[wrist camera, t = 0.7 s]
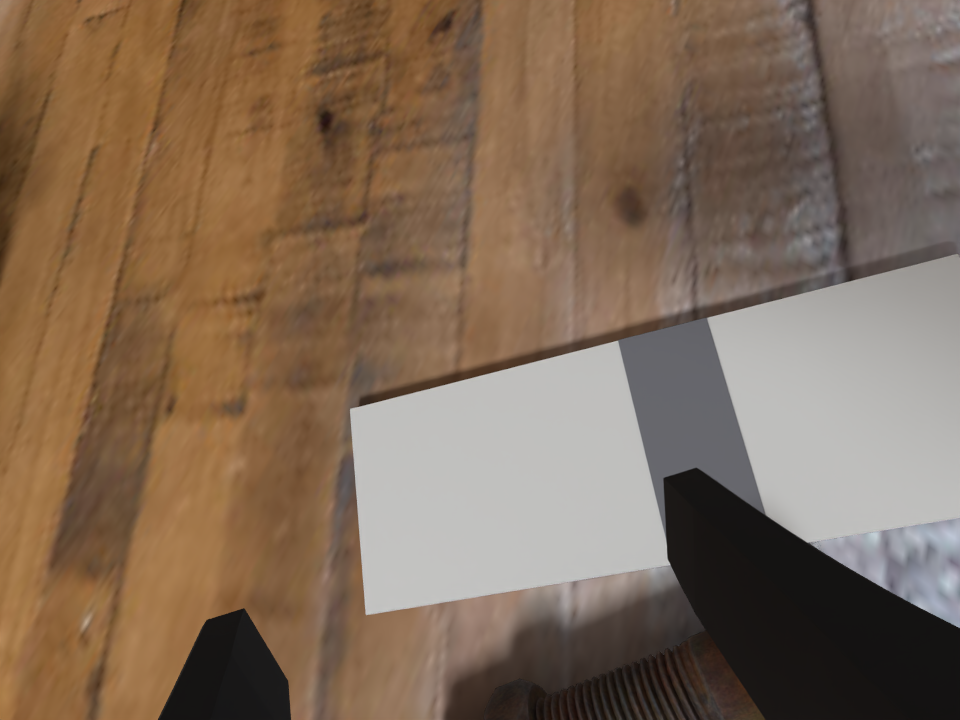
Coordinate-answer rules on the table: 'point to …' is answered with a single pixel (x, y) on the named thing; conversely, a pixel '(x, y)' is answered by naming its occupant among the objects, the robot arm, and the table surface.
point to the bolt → (639, 691)
